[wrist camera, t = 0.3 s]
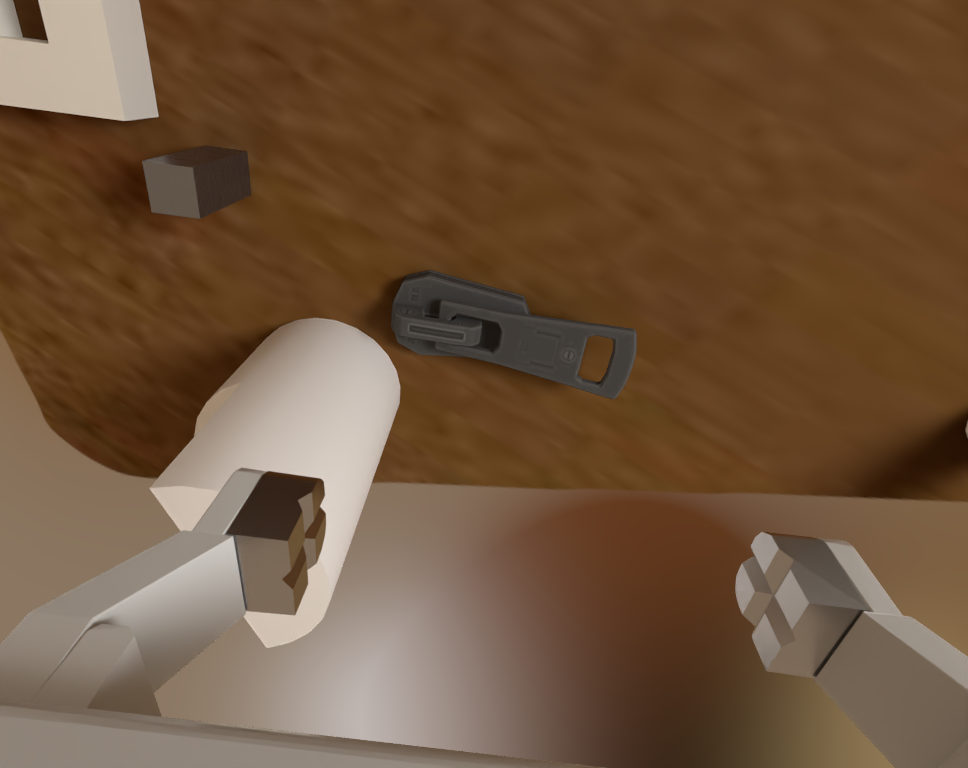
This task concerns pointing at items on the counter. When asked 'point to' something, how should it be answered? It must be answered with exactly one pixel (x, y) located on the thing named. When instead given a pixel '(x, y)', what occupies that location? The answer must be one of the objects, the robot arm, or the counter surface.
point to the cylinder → (294, 442)
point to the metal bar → (197, 181)
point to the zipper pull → (503, 331)
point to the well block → (79, 60)
